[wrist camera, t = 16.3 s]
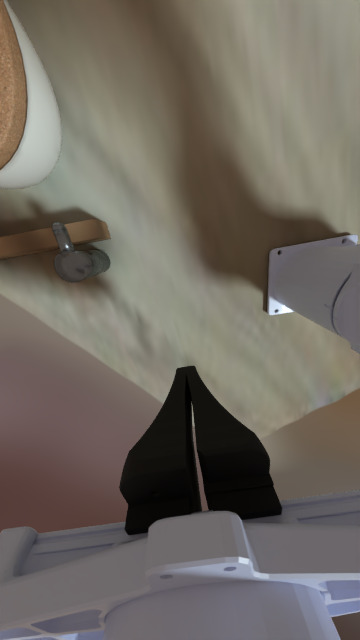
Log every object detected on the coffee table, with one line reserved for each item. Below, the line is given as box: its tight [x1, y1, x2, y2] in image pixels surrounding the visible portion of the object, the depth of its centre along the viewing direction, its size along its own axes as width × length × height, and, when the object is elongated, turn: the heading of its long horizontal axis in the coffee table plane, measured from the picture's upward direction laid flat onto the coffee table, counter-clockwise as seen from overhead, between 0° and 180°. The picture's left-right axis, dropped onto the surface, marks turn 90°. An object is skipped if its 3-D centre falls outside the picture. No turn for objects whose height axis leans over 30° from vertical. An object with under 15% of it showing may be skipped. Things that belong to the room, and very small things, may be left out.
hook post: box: [52, 222, 110, 283], centre depth 16 cm, size 2×4×6 cm, turn 10°
